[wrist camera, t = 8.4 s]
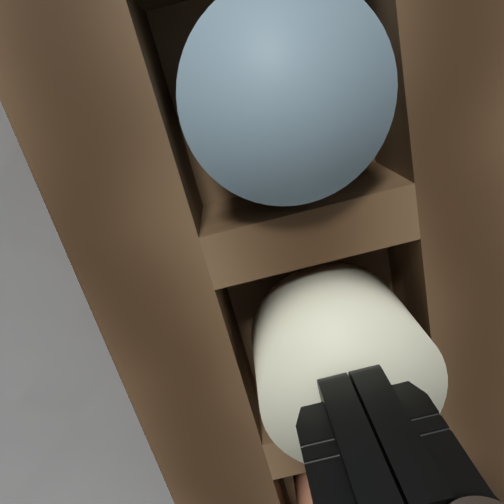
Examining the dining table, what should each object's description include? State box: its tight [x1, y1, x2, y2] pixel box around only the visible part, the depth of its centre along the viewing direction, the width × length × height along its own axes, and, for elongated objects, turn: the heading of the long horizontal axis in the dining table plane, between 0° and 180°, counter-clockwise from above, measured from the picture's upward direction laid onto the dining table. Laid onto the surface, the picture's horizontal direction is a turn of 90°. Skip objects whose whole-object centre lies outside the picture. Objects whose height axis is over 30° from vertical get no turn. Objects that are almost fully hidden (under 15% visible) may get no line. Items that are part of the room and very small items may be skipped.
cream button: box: [251, 262, 448, 463], centre depth 12 cm, size 5×5×3 cm
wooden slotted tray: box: [0, 0, 504, 504], centre depth 14 cm, size 12×24×4 cm, turn 14°
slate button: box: [176, 0, 398, 206], centre depth 11 cm, size 5×5×3 cm
